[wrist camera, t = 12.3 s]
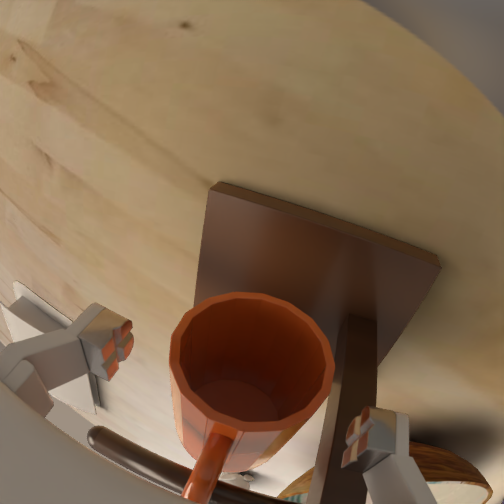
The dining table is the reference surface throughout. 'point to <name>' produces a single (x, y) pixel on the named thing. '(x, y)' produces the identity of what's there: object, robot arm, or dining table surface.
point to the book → (40, 322)
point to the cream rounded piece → (236, 479)
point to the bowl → (434, 472)
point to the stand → (311, 303)
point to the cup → (244, 382)
